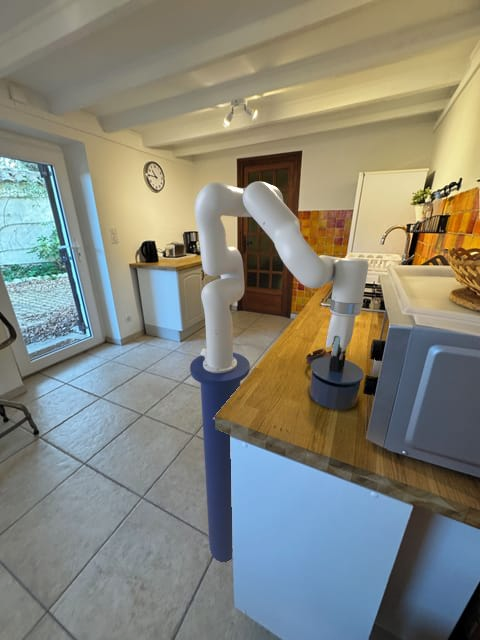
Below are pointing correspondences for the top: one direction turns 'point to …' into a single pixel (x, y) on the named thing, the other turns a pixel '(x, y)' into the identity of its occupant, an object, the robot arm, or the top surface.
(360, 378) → the bowl lid
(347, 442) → the top surface
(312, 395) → the bowl
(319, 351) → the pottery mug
